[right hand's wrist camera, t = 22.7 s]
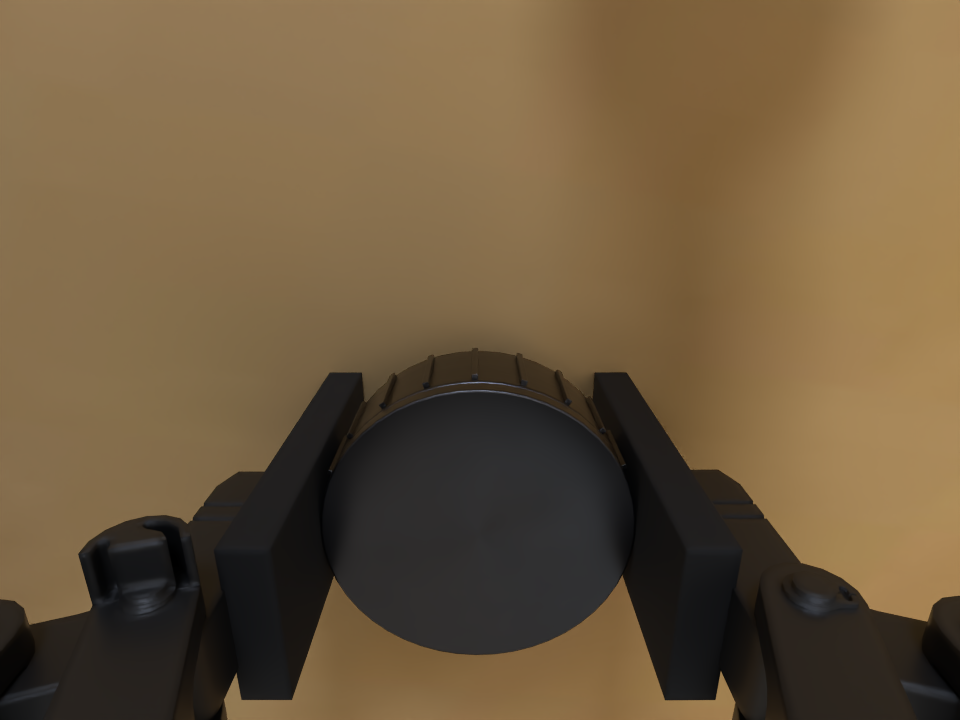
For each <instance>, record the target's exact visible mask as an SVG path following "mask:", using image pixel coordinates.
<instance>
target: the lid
mask: <svg viewBox="0 0 960 720" xmlns="http://www.w3.org/2000/svg"><path fill="white" fill-rule="evenodd" d="M626 469H627V466H626V463H625V461H624V459H623V457H622V455H621V452H620V450H619V448H618V446H617V444H616V442H615V439H614V437H613V435H612V433H611V431H610V430H607V431H606V429H605V427H604V425H603V422H602V420H601V418H600V416H599V414H598V411H597V409H596V407H595V405H594V402H593V400H592V399H591V398H590V397H588V398H585V397H584V395H583V394H582V393H581V392H580V391H579V390H578V389H577V388H575V387H574V386H573V385H572V384H571V383H570V382H569V381H568V380H566V379H565V378H564V377H563V375H562V372H560V371H559V370H557V371H556V372H554V371H553V370H551V369H549V368H547V367H544V366H542V365H540V364H538V363H536V362H534V361H531V360H528V359H525V358H523V356H522V354H519V353H517V354H516V356H514V355H509V354H505V353H500V352H487V351H478V348H472V351H471V352H458V353H452V354H447V355H442V356H438V357H435V358H434V355H431V356H428V360H425V361H423V362H421V363H419V364H416V365H414V366H412V367H410V368H408V369H406V370H404V371H403V372H401V373H399V374H398V375H395V374H394V373H393V374H392V375H390V376H389V379H388V382H387V383H386V384H384V385H383V386H382V387H381V388H380V389H378V391H377V392H376V393H375V394H374V395H373V396H372V397H371V398H370V399H369V400H368V401H367V403H366V402H364V401H363V402H362V403H361V404H360V407H359V409H358V411H357V413H356V416H355V418H354V420H353V422H352V425H351V427H350V429H349V431H348V433H347V435H344V437H343V439H342V441H341V443H340V446H339V448H338V450H337V452H336V454H335V457H334V459H333V461H332V463H331V465H330V468H329V470H328V473H327V475H329V476H330V478H329V481H328V484H327V487H326V490H325V493H324V497H323V503H322V510H321V534H322V540H323V546H324V551H325V554H326V557H327V560H328V563H329V566H330V568H331V570H332V572H333V574H334V576H335V578H336V580H337V582H338V583H339V585H340V586H341V588H342V589H343V591H344V592H345V594H346V595H347V596H348V598H349V599H350V600H351V601H352V602H353V603H354V604H355V605H356V606H357V608H358V609H359V610H361V611H362V612H363V613H364V614H365V615H366V616H368V617H369V618H370V619H371V620H372V621H374V622H375V623H377V624H378V625H379V626H381V627H382V628H384V629H385V630H387V631H389V632H391V633H393V634H394V635H396V636H398V637H400V638H402V639H404V640H407V641H409V642H412V643H415V644H417V645H420V646H423V647H427V648H430V649H434V650H438V651H443V652H449V653H455V654H469V655H487V654H500V653H507V652H514V651H518V650H522V649H526V648H530V647H533V646H536V645H538V644H541V643H544V642H547V641H549V640H551V639H553V638H555V637H557V636H560V635H562V634H564V633H566V632H567V631H569V630H570V629H572V628H573V627H575V626H577V625H578V624H580V623H581V622H582V621H584V620H585V619H586V618H587V617H588V616H590V615H591V614H592V613H593V612H595V610H596V609H597V608H598V607H599V606H600V605H601V604H602V603H603V602H604V601H605V600H606V599H607V598H608V596H609V595H610V594H611V592H612V591H613V589H614V588H615V587H616V585H617V584H618V582H619V580H620V578H621V576H622V574H623V573H624V571H625V569H626V566H627V563H628V560H629V558H630V555H631V552H632V547H633V542H634V537H635V523H636V516H635V507H634V499H633V496H632V492H631V488H630V484H629V482H628V479H627V477H626V475H625V473H624V470H626Z"/></svg>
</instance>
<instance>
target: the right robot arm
mask: <svg viewBox="0 0 960 720" xmlns="http://www.w3.org/2000/svg"><path fill="white" fill-rule="evenodd" d="M363 401H364V398H363V384H362V373H329V375H328V376H327V378H326V379H325V381H324V382H323V384H322V386H321V387H320V389H319V390H318V392H317V393H316V395H315V396H314V398H313V399H312V401H311V402H310V404H309V405H308V407H307V408H306V410H305V411H304V413H303V414H302V416H301V418H300V419H299V421H298V422H297V424H296V425H295V427H294V428H293V430H292V431H291V433H290V434H289V436H288V437H287V439H286V440H285V442H284V443H283V445H282V446H281V448H280V449H279V451H278V453H277V454H276V456H275V457H274V459H273V460H272V462H271V463H270V465H269V466H268V468H267V469H266V471H265V472H238V473H236V474H235V475H233V476H232V477H230V478H229V479H227V480H226V481H224V482H223V483H221V484H220V485H218V486H217V487H216V488H215V489H214V491H213V492H212V493H211V495H210V496H209V497H208V498H207V500H206V501H205V502H204V506H203V507H201V508H200V509H199V510H198V511H197V513H196V514H195V515H194V517H193V521H190V522H189V523H188V524H187V523H185V522H184V521H183V520H182V519H180V518H176V517H171V516H167V515H161V516H146V517H141V518H137V519H133V520H129V521H125V522H123V523H121V524H118V525H116V526H114V527H111V528H109V529H107V530H105V531H103V532H102V533H100V534H99V535H97V536H96V537H95V538H93V539H92V540H90V541H89V542H88V543H87V544H86V545H85V546H84V548H83V549H82V550H81V551H80V552H79V554H78V555H79V559H80V562H81V566H82V569H83V573H84V576H85V580H86V583H87V587H88V591H89V594H90V598H91V601H92V605H93V606H92V608H91V610H90V611H88V612H84V613H81V614H77V615H73V616H68V617H64V618H59V619H54V620H50V621H45V622H41V623H36V624H32V625H29V623H28V620H27V617H26V614H25V611H24V608H23V607H21V606H20V605H19V604H17V603H16V602H15V601H9V600H1V599H0V720H227V713H226V708H225V703H224V698H225V696H226V694H227V692H228V690H229V687H230V685H231V683H232V681H233V679H234V677H235V674H236V672H237V678H238V683H239V688H240V694H241V699H242V700H292V698H293V695H294V692H295V689H296V686H297V683H298V680H299V677H300V674H301V671H302V669H303V666H304V663H305V660H306V657H307V654H308V651H309V648H310V645H311V642H312V639H313V636H314V633H315V630H316V627H317V624H318V621H319V618H320V615H321V612H322V610H323V607H324V604H325V601H326V598H327V595H328V592H329V589H330V586H331V583H332V580H333V577H334V574H333V572H332V570H331V568H330V566H329V563H328V560H327V557H326V554H325V551H324V546H323V540H322V534H321V510H322V503H323V497H324V493H325V490H326V487H327V484H328V481H329V478H330V476H329V475H327V473H328V470H329V468H330V465H331V463H332V461H333V459H334V457H335V454H336V452H337V450H338V448H339V446H340V443H341V441H342V439H343V437H344V435H347V433H348V431H349V429H350V427H351V425H352V422H353V420H354V418H355V416H356V413H357V411H358V409H359V407H360V404H361V403H362V402H363ZM593 402H594V405H595V407H596V409H597V411H598V414H599V416H600V418H601V420H602V422H603V425H604V427H605V429H606V431H607V430H610V431H611V433H612V435H613V437H614V439H615V442H616V444H617V446H618V448H619V450H620V452H621V455H622V457H623V459H624V461H625V463H626V466H627V469H626V470H624V473H625V475H626V477H627V479H628V482H629V484H630V488H631V492H632V496H633V499H634V507H635V516H636V523H635V537H634V542H633V547H632V552H631V555H630V558H629V560H628V563H627V566H626V569H625V571H624V573H623V574H622V575H623V578H624V581H625V584H626V587H627V590H628V592H629V595H630V598H631V601H632V604H633V607H634V610H635V613H636V616H637V619H638V622H639V625H640V628H641V631H642V634H643V637H644V640H645V642H646V645H647V648H648V651H649V654H650V657H651V660H652V663H653V666H654V669H655V672H656V675H657V678H658V681H659V684H660V687H661V690H662V692H663V695H664V698H665V700H715V699H716V693H717V688H718V683H719V677H720V672H722V674H723V676H724V678H725V680H726V683H727V685H728V687H729V689H730V691H731V693H732V696H733V698H734V700H735V702H736V703H735V708H734V713H733V718H732V720H960V596H954V597H946V598H942V599H940V600H939V601H938V602H937V603H935V604H934V605H933V607H932V610H931V613H930V616H929V619H928V622H926V621H921V620H916V619H912V618H907V617H902V616H898V615H893V614H888V613H884V612H879V611H876V610H872V609H869V607H868V605H867V603H866V602H865V600H864V599H863V597H862V596H861V595H860V593H859V592H858V591H857V590H856V589H855V588H853V587H852V586H851V585H850V584H848V583H847V582H846V581H844V580H843V579H842V578H840V577H838V576H836V575H834V574H832V573H830V572H828V571H826V570H824V569H821V568H817V567H813V566H810V565H806V564H803V563H801V562H800V561H799V560H798V559H797V557H796V556H795V555H794V553H793V552H792V551H791V550H790V548H789V547H788V546H787V544H786V543H785V542H784V540H783V539H782V538H781V537H780V535H779V534H778V533H777V531H776V530H775V529H774V528H773V526H772V525H771V524H770V522H769V521H768V520H767V519H764V515H763V513H762V512H761V511H760V509H759V508H758V507H757V506H756V504H753V500H752V499H751V498H750V497H749V495H748V494H747V493H746V491H745V490H744V489H743V488H742V486H741V485H740V484H739V483H737V482H736V481H734V480H733V479H731V478H730V477H728V476H727V475H725V474H724V473H722V472H721V471H719V470H690V469H689V467H688V465H687V464H686V462H685V461H684V459H683V458H682V456H681V455H680V453H679V452H678V450H677V449H676V447H675V446H674V444H673V443H672V441H671V440H670V438H669V437H668V435H667V434H666V432H665V430H664V429H663V427H662V426H661V424H660V423H659V421H658V420H657V418H656V417H655V415H654V414H653V412H652V411H651V409H650V408H649V406H648V405H647V403H646V402H645V400H644V398H643V397H642V395H641V394H640V392H639V391H638V389H637V388H636V386H635V385H634V383H633V382H632V380H631V379H630V377H629V376H628V374H627V373H595V378H594V392H593Z"/></svg>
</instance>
